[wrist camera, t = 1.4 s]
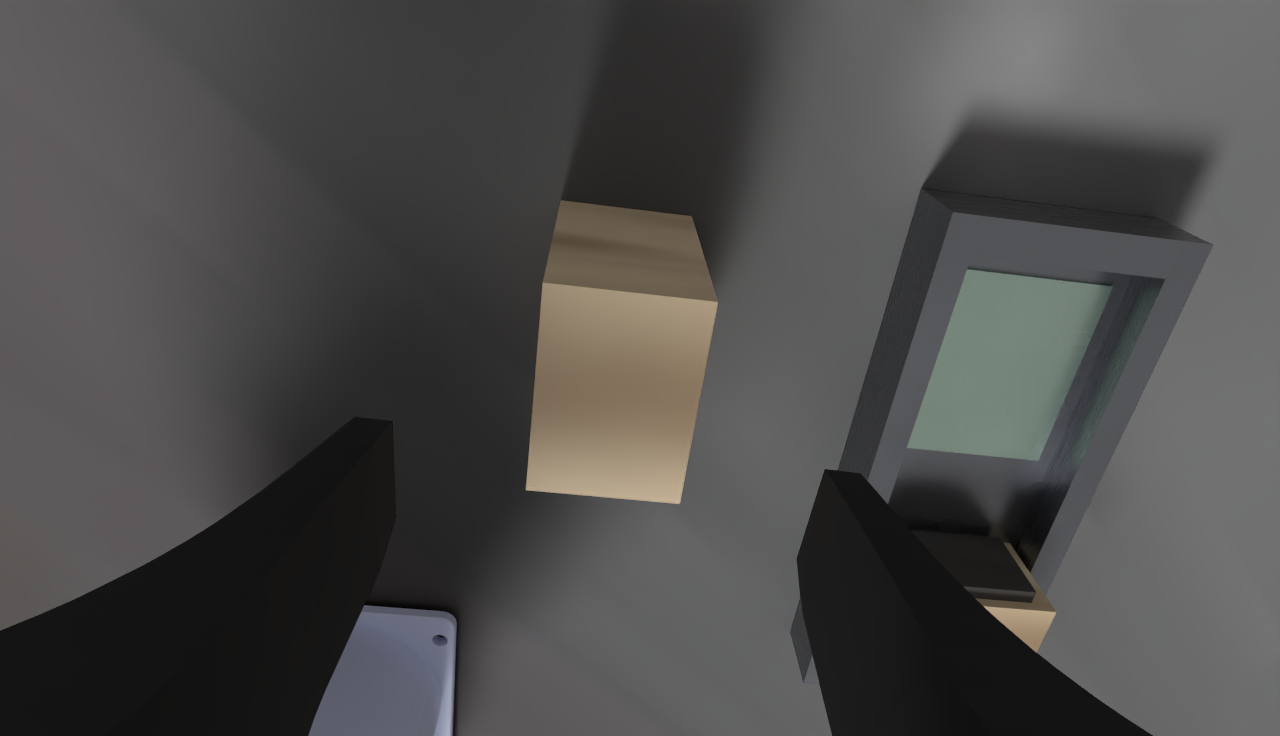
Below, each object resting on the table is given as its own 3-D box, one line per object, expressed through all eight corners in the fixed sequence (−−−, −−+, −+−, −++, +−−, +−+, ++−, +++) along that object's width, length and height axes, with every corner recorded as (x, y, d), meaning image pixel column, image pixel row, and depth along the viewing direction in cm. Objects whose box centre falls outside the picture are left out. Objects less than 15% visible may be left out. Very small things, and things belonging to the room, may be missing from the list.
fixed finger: (969, 635, 27) (1008, 708, 24) (833, 624, 27) (857, 698, 24) (1014, 533, 25) (1061, 601, 22) (867, 520, 25) (898, 588, 22)
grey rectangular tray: (971, 646, 29) (996, 696, 27) (790, 632, 28) (803, 683, 26) (1158, 218, 22) (1213, 244, 20) (921, 188, 21) (953, 212, 19)
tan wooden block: (662, 391, 24) (677, 518, 18) (545, 379, 23) (524, 504, 18) (692, 215, 21) (718, 302, 16) (560, 200, 21) (542, 282, 16)
